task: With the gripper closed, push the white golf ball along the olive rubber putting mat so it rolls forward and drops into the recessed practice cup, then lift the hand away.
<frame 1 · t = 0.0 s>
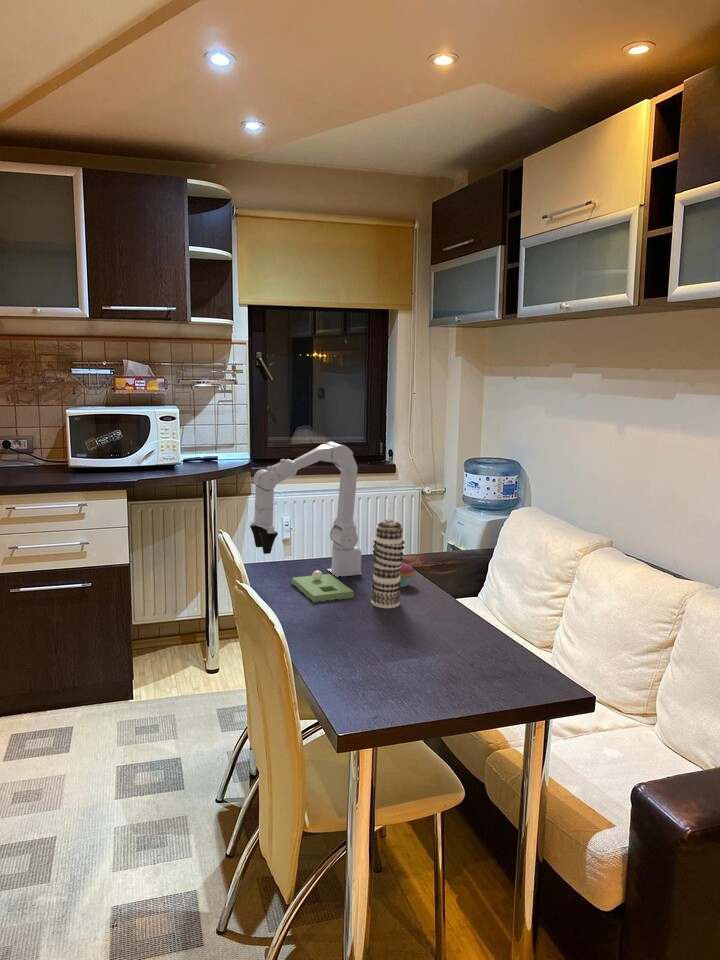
hand: (263, 550, 227), 10 cm above the table, tool pointing down, fingers open, 7 cm apart
cupcake: (400, 585, 232), on the table
putting mat: (321, 590, 222), on the table
cream and black cylinder: (385, 604, 214), on the table
ball: (317, 580, 226), point 2 cm above the table, touching putting mat
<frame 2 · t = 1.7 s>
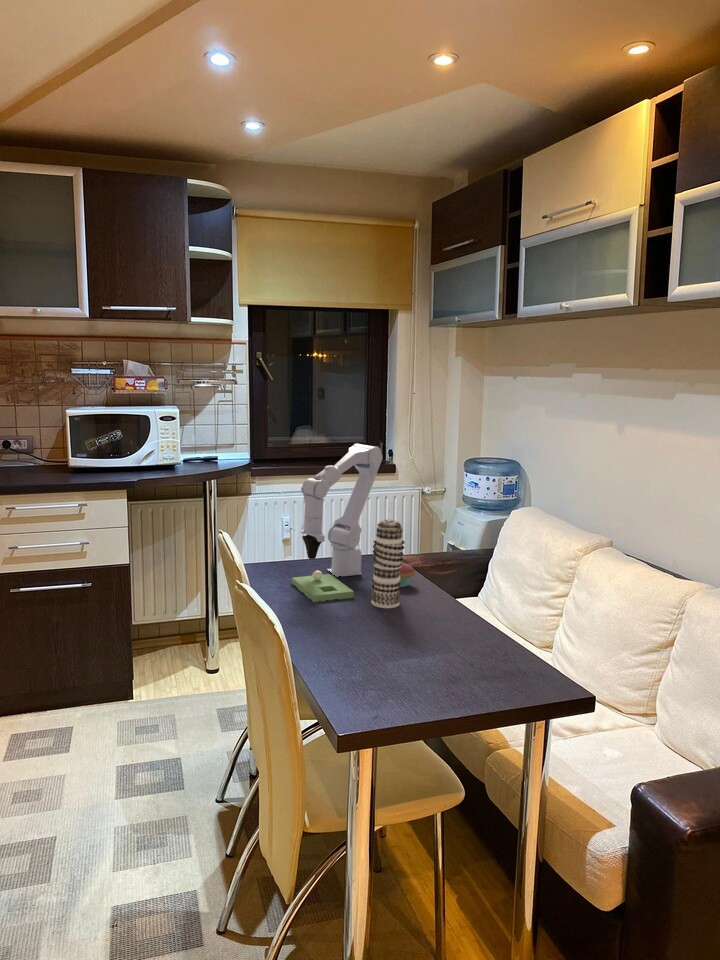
hand: (311, 558, 229), 8 cm above the table, tool pointing down, fingers closed
nothing on the table moved.
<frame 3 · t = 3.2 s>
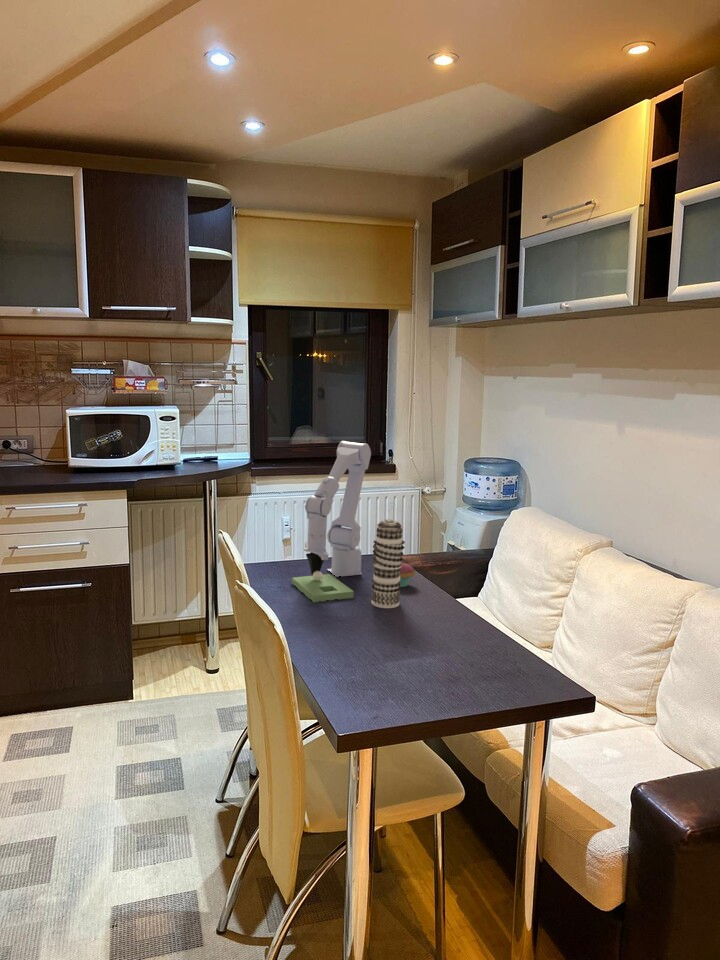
hand: (315, 576, 227), 3 cm above the table, tool pointing down, fingers closed, pressing on ball
ball: (317, 580, 226), point 2 cm above the table, tilted 10°, touching gripper, putting mat
everything else where it was.
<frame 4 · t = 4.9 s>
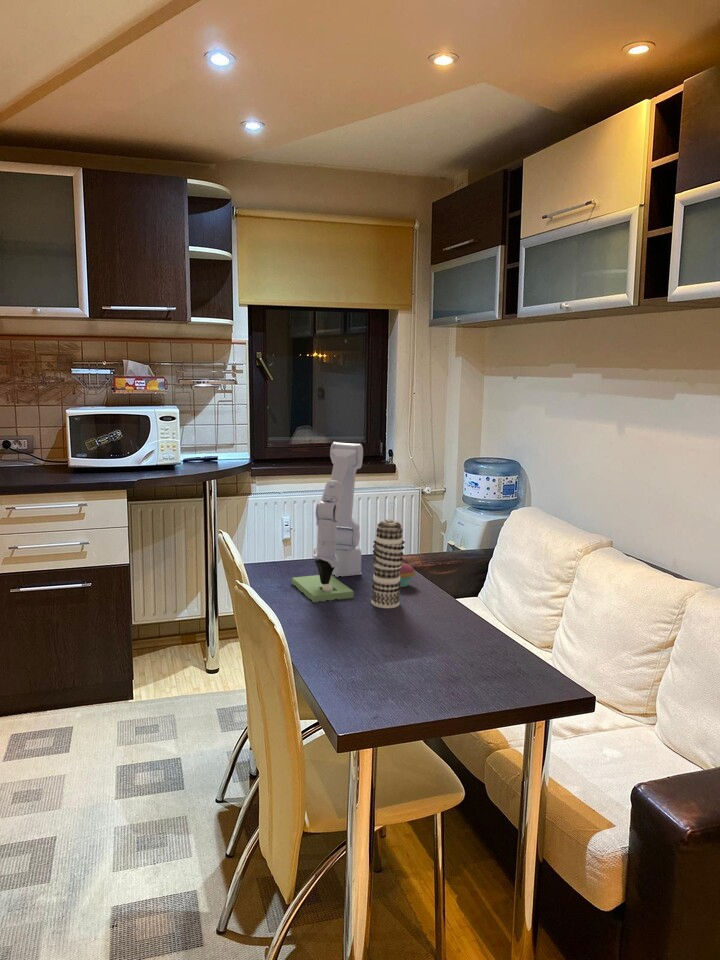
hand: (324, 583, 220), 3 cm above the table, tool pointing down, fingers closed
ball: (328, 594, 218), resting on putting mat, tilted 27°
everything else where it was.
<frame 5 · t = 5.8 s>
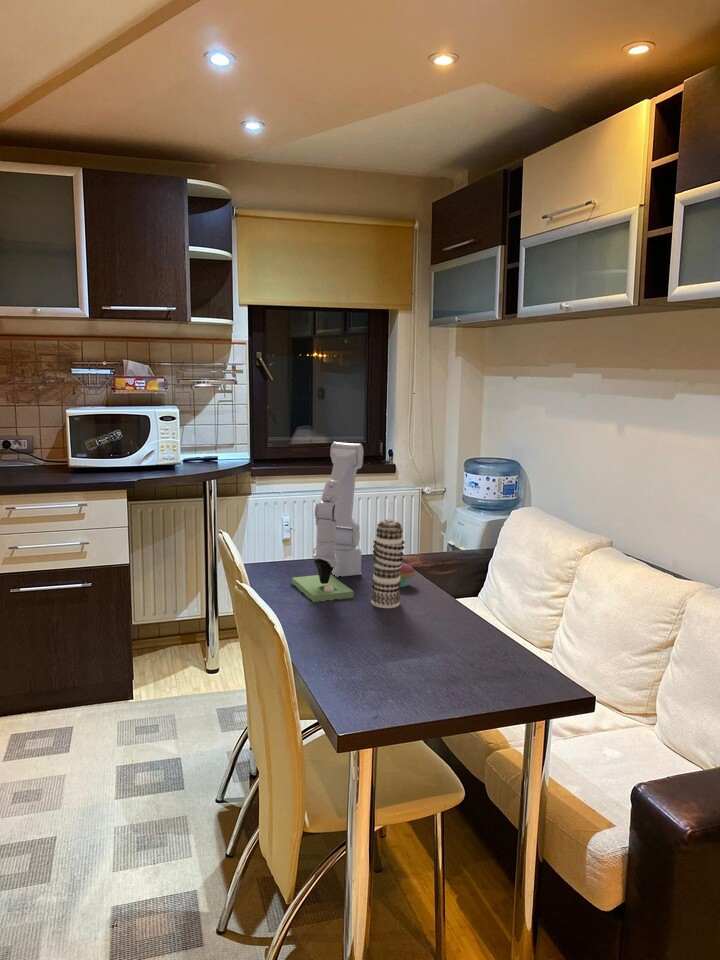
hand: (324, 583, 221), 3 cm above the table, tool pointing down, fingers closed
ball: (328, 595, 218), resting on putting mat, tilted 5°
everything else where it was.
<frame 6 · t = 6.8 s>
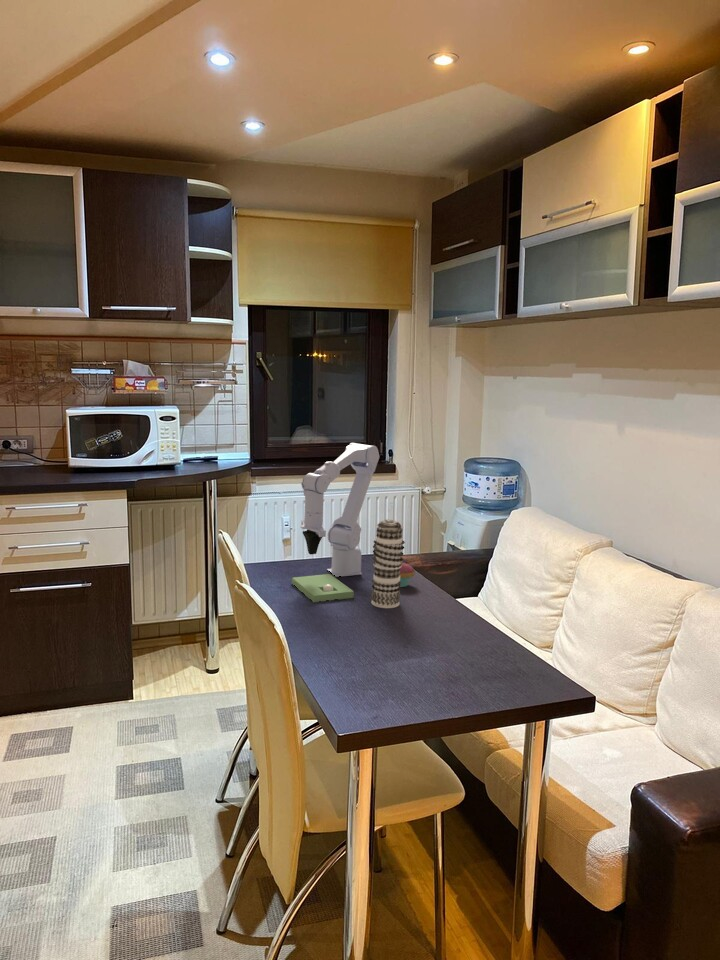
hand: (312, 553, 227), 10 cm above the table, tool pointing down, fingers closed
ball: (328, 594, 218), resting on putting mat, tilted 10°
everything else where it was.
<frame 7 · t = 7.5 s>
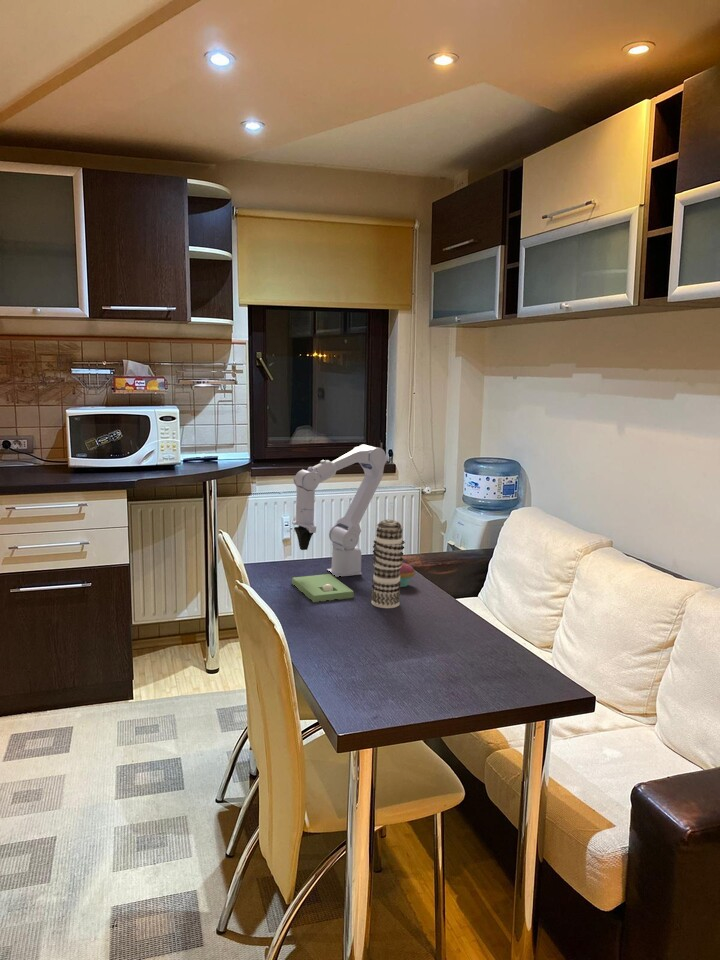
hand: (303, 549, 231), 10 cm above the table, tool pointing down, fingers closed
ball: (328, 594, 218), resting on putting mat, tilted 21°
everything else where it was.
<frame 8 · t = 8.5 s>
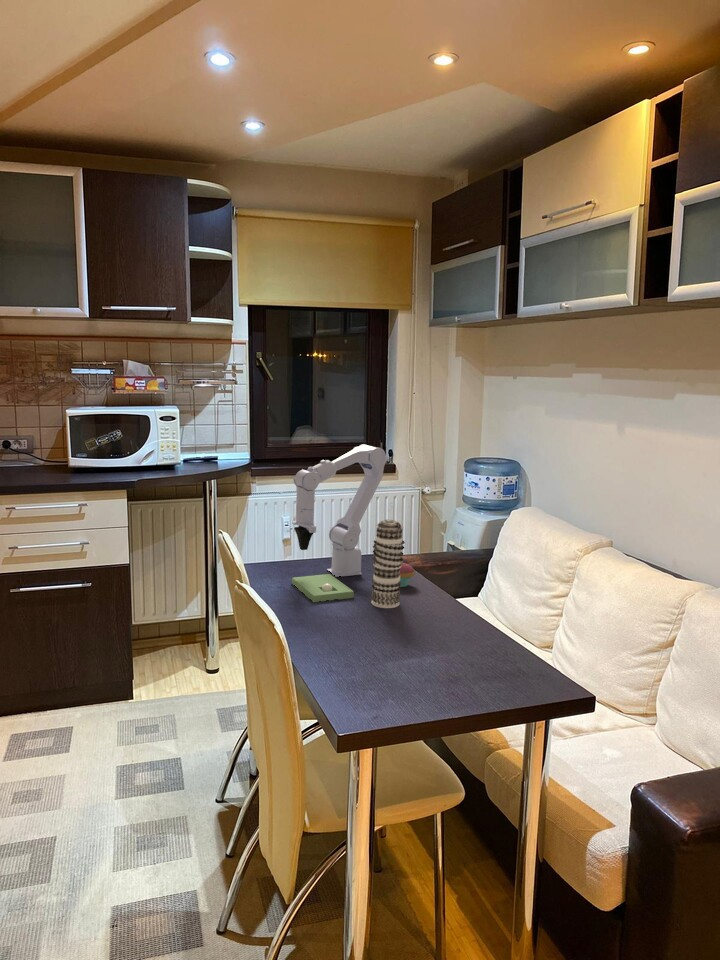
hand: (303, 549, 231), 10 cm above the table, tool pointing down, fingers closed
ball: (328, 593, 218), point 1 cm above the table, tilted 37°, touching putting mat
everything else where it was.
at the end: ball 0.4 cm from the target spot on the putting mat, point 0.5 cm above the putting mat's base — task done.
